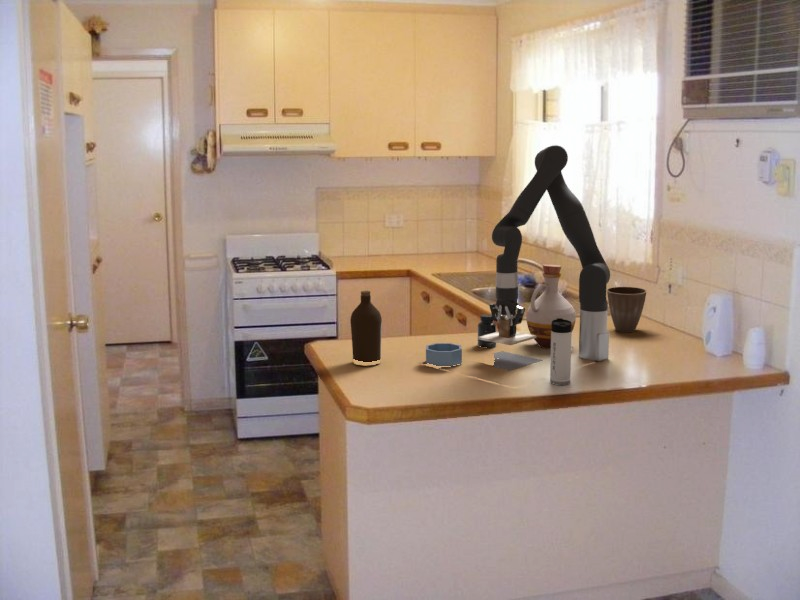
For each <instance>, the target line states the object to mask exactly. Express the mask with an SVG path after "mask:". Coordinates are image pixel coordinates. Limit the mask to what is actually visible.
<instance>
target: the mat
mask: <svg viewBox="0 0 800 600" xmlns="http://www.w3.org/2000/svg"><path fill="white" fill-rule="evenodd" d="M493 354H494V358H495V360H494V361H495V362H494V365H493V366H494V367H493V368H496V369H501V370H506V371H512V370H516V369H518V368H523V367H526V366H530V365H533V364H535V363H539V362H542V361H544V360H543V359H539V358H534V357H531V356H525V355H522V354H521V355H520V354H517V353H513V352H507V351H503V350H501V351H499V352H494V353H493ZM497 358H499V359H497Z"/></svg>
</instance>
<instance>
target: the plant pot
mask: <svg viewBox="0 0 800 600" xmlns="http://www.w3.org/2000/svg"><path fill="white" fill-rule="evenodd" d="M606 296H607V302H608V309H609V312H610V316H611V317H610V318H611V319H612V322H613V323H612V324H613V326H614V329H615V331H616V330H617V332H619V331H620V333H633V332H632V331H634V332H635V331H636V329H637V327H638V325H639V322H640V320H641V317H642V314H643V313H642V312H643V310H644V306H645V301H646V297H647V290H646V289H644V288H642V287H633V286H615V287H610V288H608V289H607V288H606Z"/></svg>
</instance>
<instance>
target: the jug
mask: <svg viewBox="0 0 800 600" xmlns="http://www.w3.org/2000/svg"><path fill="white" fill-rule="evenodd" d="M542 269H543V272H542V277H543V279H544V283H541V284H539V285H538V286H537V287H536V288H535V289H534V291H533V293H532V295H531V298H530V304H529V307H528V308H527V311H526V315H525V317H526V324H527V329H528V331H529V334H530V335H536V338H534V339H533V340H534V341H535V342H536V344H537V345H538V346H539V347H540V348H543V347H544V348H543V349H551V333H552V332H551V329H552V327H551V324H552V321H553V320H556V319H557V318H562V319H565V320H569V321H571V323H572V328H571V331H572V332H573V331H574V328H575V324H576V320H577V314H576V311H575V308H574V307H573V305H572V304H571V303H570V302H569V300H567V299H566V298H565V297H564V296H563V295H562V294H561V293H560V292H559V281H560V278H561V275H562V272H561V269H562V265H559V264H542ZM543 288H544V290H543V292H542V293H541V294H540V296H539V297H537V296H538V294H539V292H540V291H541V289H543Z"/></svg>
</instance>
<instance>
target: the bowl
mask: <svg viewBox="0 0 800 600" xmlns="http://www.w3.org/2000/svg"><path fill="white" fill-rule="evenodd" d="M462 357H463V348H462V345H461V344H457V343H452V342H435V343H432V344H427V345H425V364H426V363H429V364H433V365H436V366H453V365H457V364H461V363H462V364H463V359H462Z"/></svg>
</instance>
